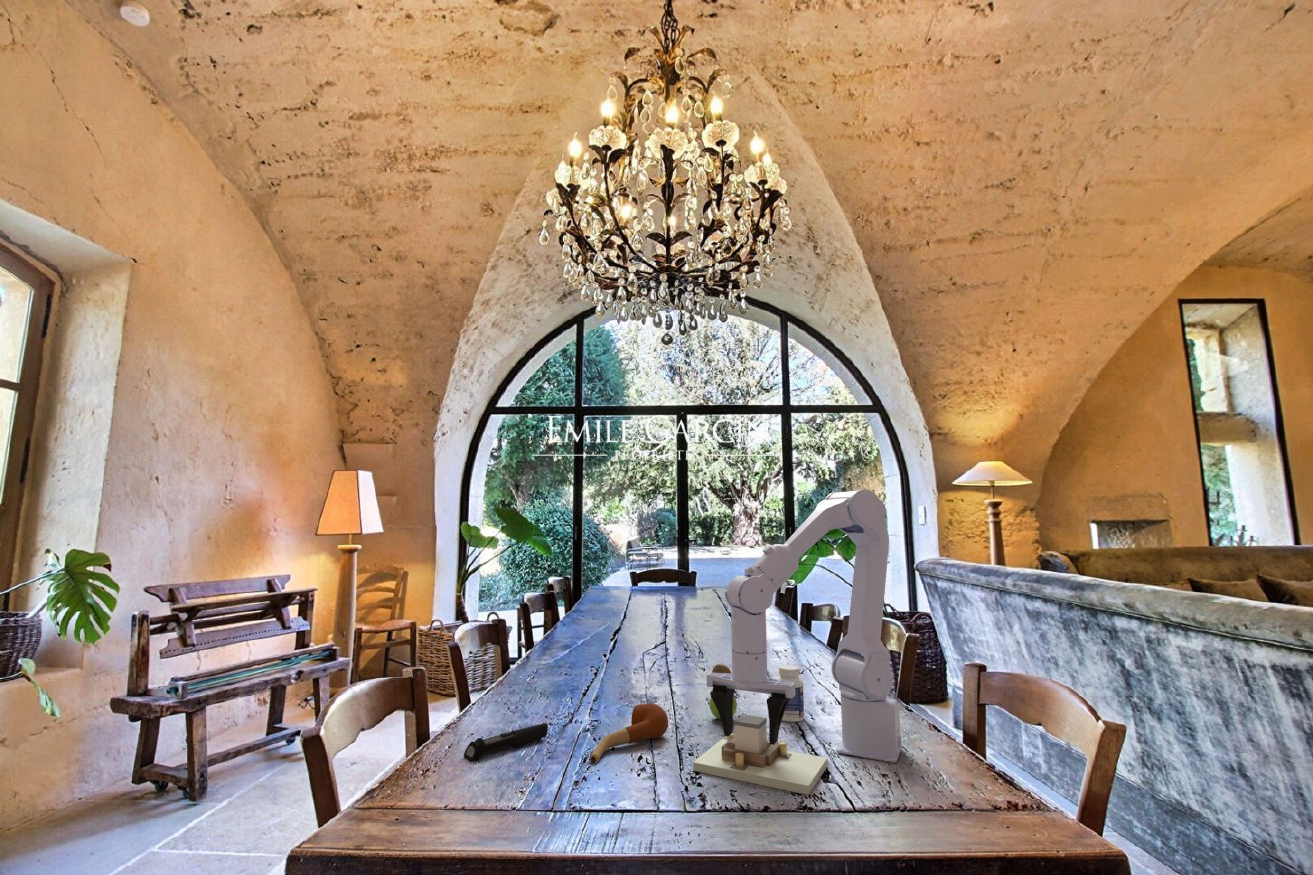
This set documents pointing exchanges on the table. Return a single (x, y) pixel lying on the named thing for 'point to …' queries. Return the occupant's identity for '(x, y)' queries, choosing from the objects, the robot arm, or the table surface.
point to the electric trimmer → (505, 741)
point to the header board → (766, 768)
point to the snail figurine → (717, 669)
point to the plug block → (751, 734)
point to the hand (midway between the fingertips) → (750, 738)
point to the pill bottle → (795, 704)
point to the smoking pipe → (635, 729)
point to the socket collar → (751, 754)
